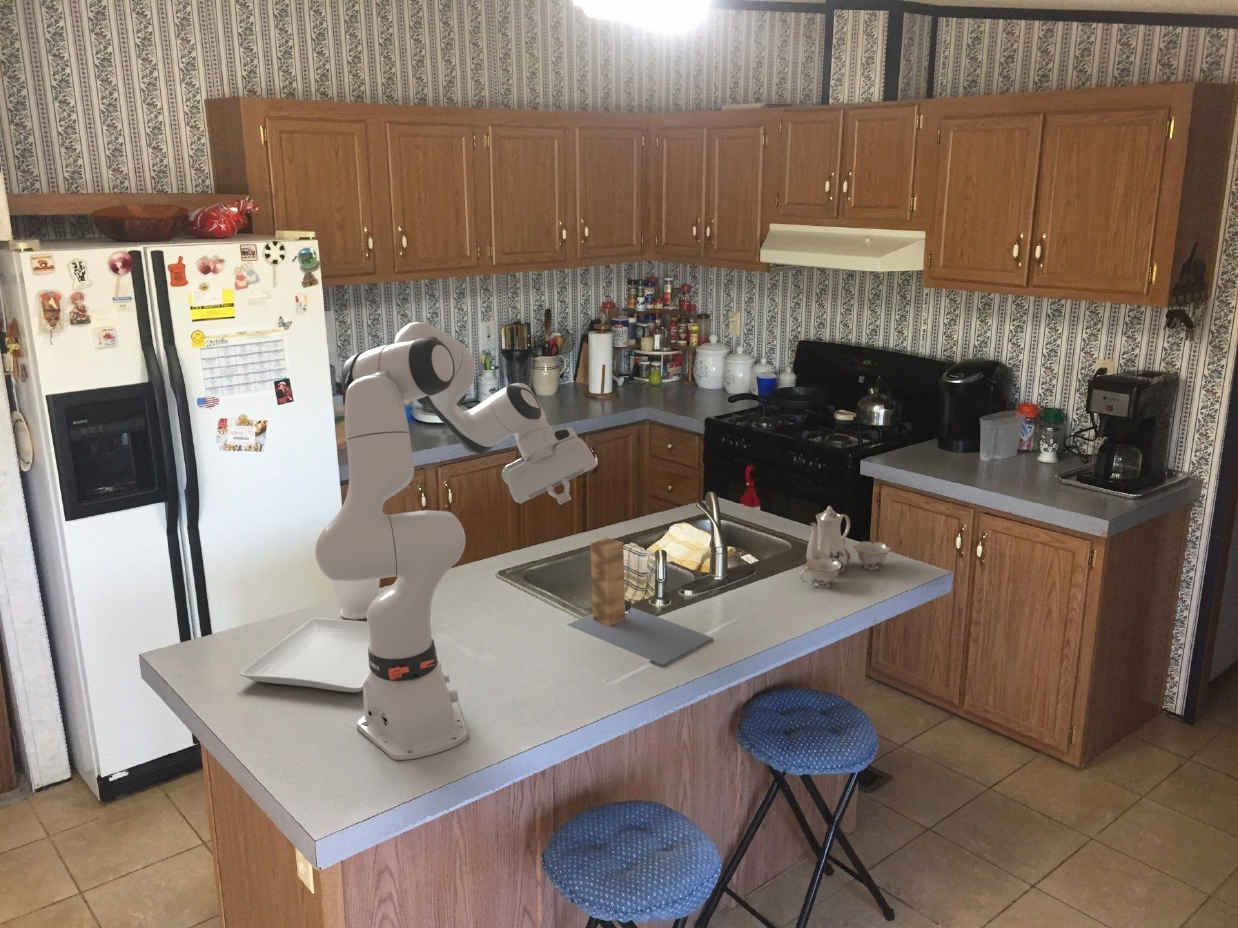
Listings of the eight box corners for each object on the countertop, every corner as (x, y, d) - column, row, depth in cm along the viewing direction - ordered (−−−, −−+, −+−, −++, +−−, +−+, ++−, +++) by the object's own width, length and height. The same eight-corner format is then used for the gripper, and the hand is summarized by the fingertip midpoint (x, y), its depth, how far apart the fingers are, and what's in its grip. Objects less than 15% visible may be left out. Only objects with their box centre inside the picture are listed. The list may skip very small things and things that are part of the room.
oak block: (593, 619, 225) (590, 543, 220) (609, 612, 228) (606, 537, 223) (609, 626, 221) (606, 548, 216) (625, 618, 225) (623, 542, 220)
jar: (389, 603, 237) (383, 543, 233) (374, 622, 227) (368, 560, 223) (345, 602, 238) (338, 543, 234) (328, 621, 229) (321, 559, 224)
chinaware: (826, 603, 235) (835, 538, 229) (771, 576, 247) (778, 514, 241) (896, 570, 253) (906, 509, 247) (842, 547, 264) (850, 488, 259)
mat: (567, 627, 223) (567, 624, 223) (618, 604, 234) (617, 601, 234) (662, 667, 204) (662, 664, 204) (712, 640, 215) (712, 637, 215)
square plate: (426, 641, 219) (424, 625, 217) (362, 705, 193) (360, 687, 192) (314, 629, 226) (312, 613, 225) (239, 689, 200) (236, 671, 199)
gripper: (495, 464, 226) (519, 518, 222) (578, 424, 227) (604, 477, 222) (501, 473, 232) (525, 525, 227) (582, 434, 233) (607, 485, 228)
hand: (565, 501), depth 225 cm, fingers closed
